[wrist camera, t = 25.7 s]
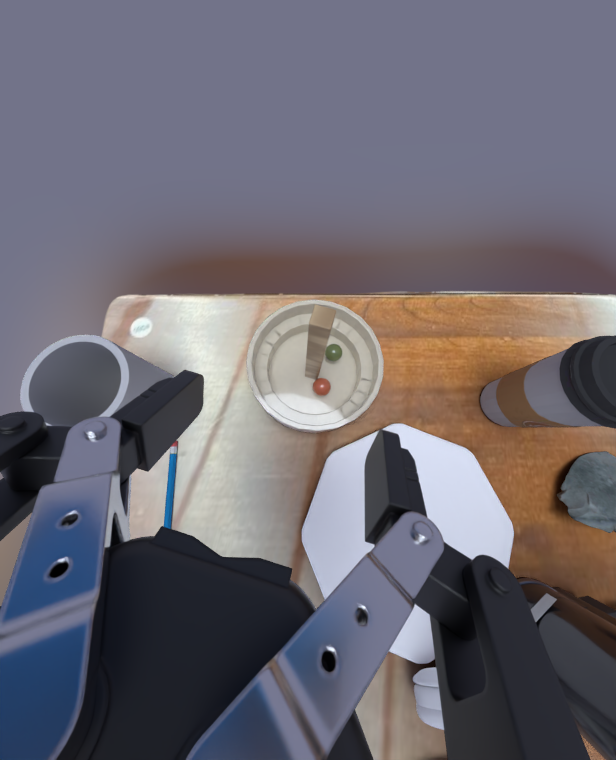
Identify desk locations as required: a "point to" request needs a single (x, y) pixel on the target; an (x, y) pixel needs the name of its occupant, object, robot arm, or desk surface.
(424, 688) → the headphones
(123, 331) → the desk surface
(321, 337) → the stick
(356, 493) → the plate
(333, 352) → the bead olive
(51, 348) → the cup
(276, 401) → the bowl
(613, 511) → the stone
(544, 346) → the desk surface
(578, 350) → the coffee cup
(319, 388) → the bead terracotta
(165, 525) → the pencil
